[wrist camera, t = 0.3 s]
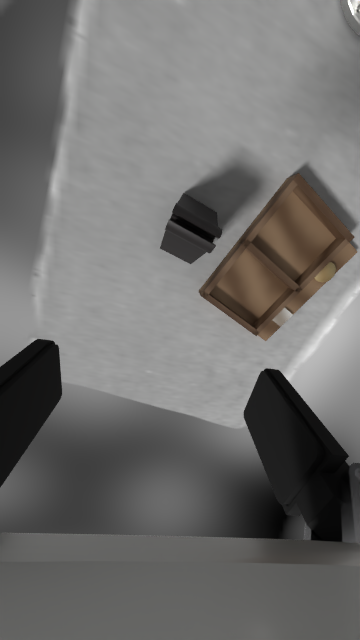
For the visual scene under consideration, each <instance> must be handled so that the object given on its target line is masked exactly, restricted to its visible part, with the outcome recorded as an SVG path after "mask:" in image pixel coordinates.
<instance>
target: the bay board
mask: <svg viewBox="0 0 360 640" xmlns="http://www.w3.org/2000/svg"><path fill="white" fill-rule="evenodd" d="M353 238H354V236H353V235H352V234H351V232H350V231H349V230H348V229H347V228H346V227H345V226H344V224H343V223H342V222H341V221H340V220H339V219H338V218H337V216H336V215H335V214H334V213H333V212H332V211H331V210H330V208H329V207H328V206H327V205H326V204H325V203H324V202H323V200H322V199H321V198H320V197H319V196H318V195H317V193H316V192H315V191H314V190H313V189H312V188H311V187H310V185H309V184H308V183H307V182H306V181H305V180H304V179H303V177H302V176H301V175H300V174H299V173H297V174H295V175H293V176H291V177H289V178H287V179H286V180H285V182H284V183H283V184H282V186H281V187H280V188H279V189H278V191H277V192H276V193H275V194H274V196H273V197H272V198H271V200H270V201H269V202H268V203H267V205H266V206H265V207H264V208H263V210H262V211H261V212H260V214H259V215H258V216H257V217H256V219H255V220H254V221H253V222H252V224H251V225H250V226H249V228H248V229H247V230H246V231H245V233H244V234H243V235H242V236H241V238H240V239H239V240H238V242H237V243H236V244H235V245H234V247H233V248H232V249H231V250H230V252H229V253H228V254H227V256H226V257H225V258H224V259H223V261H222V262H221V263H220V264H219V266H218V267H217V268H216V270H215V271H214V272H213V273H212V275H211V276H210V277H209V278H208V280H207V281H206V282H205V284H204V285H203V286H202V287H201V289H200V290H199V293H200V295H201V296H202V297H203V298H204V299H206V300H207V301H209V302H210V303H211V304H213V305H214V306H216V307H217V308H218V309H220V310H221V311H222V312H224V313H225V314H227V315H228V316H229V317H231V318H232V319H233V320H235V321H236V322H238V323H239V324H240V325H242V326H243V327H245V328H246V329H247V330H249V331H250V332H251V333H253V334H254V335H256V336H257V335H258V336H260V337H261V338H262V339H264V340H265V341H266V340H267V339H268V338H269V337H271V336H272V335H273V334H274V333H275V332H276V331H277V330H278V329H279V328H280V327H281V326H282V325H283V324H284V323H285V322H286V321H287V320H288V319H289V318H290V317H291V316H292V315H293V314H294V313H295V312H296V311H297V310H298V309H299V308H300V307H301V306H302V305H303V304H304V303H305V302H306V301H307V300H309V299H310V298H311V297H312V296H313V295H314V294H315V293H316V292H317V291H318V290H319V289H320V288H321V287H322V286H323V285H324V284H325V283H326V282H327V281H329V280H330V279H331V278H332V277H333V276H334V274H335V273H336V272H337V271H338V270H339V269H340V268H341V267H342V266H343V265H344V264H345V263H347V262H348V261H349V260H350V259H351V258H352V257H353V256H354V255H355V254H356V253H357V251H356V249H355V248H354V247H353V246H352V245H351V244H350V243H349V242H350V241H351V240H352V239H353Z"/></svg>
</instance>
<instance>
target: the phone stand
mask: <svg viewBox="0 0 360 640" xmlns="http://www.w3.org/2000/svg"><path fill="white" fill-rule="evenodd" d="M172 213H173V214H172V216H171V219H169V221H168V223H167V226H166V229H165V230H166V231H165V234H164V237H163V240H162V244H161V247H160V248H161V249H162V250H164V251H166V252H168V253H170V254H172V255H174V256H176V257H178V258H180V259H182V260H184V261H186V262H188V263H190V264H192V263H193V262H194V261H195V260H197V259H198V258H199V257H201V256H202V255H203V254H205V253H206V252H208V253H211V252H212V250H213V249H214V248H215V246H216V245H215V244H213V243H212V242H213V240H214V239H215V237H217V238H218V239H219V238H220V237H221V234H222V229H220V228H219V227H218V222H217V212H215V211H213V210H212V209H210V208H208V207H206V206H205V205H203V204H201V203H200V202H198V201H196V200H195V199H193V198H191V197H190V196H188V195H186V194H185V193H183V195H182V196H181V198H180V200H179V202H178V203H176V205H175V207H174V209H173V211H172Z"/></svg>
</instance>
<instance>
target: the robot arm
mask: <svg viewBox="0 0 360 640" xmlns="http://www.w3.org/2000/svg"><path fill="white" fill-rule="evenodd" d="M341 6H342V9H343V13H344V16H345V18H346V20H347V22H348V24H349V26H350V27H351V28H352V29H353V30H354V31H355V33H356V34H358V35H360V0H341ZM61 396H62V385H61V371H60V357H59V347H58V345H55V343H54V341H51V340H43V339H37V340H35V341H34V342H32V343H31V344H30V345H28V346H27V347H26V348H25V349H23V350H22V351H21V352H19V353H18V354H17V355H15V356H14V357H13V358H12V359H10V360H9V361H8V362H6V363H5V364H4V365H2V366H1V367H0V487H1V486H2V484H3V483H4V481H5V480H6V478H7V477H8V476H9V474H10V472H11V471H12V470H13V468H14V467H15V465H16V464H17V462H18V461H19V459H20V458H21V456H22V455H23V453H24V452H25V450H26V449H27V448H28V446H29V445H30V443H31V442H32V440H33V439H34V437H35V436H36V434H37V433H38V431H39V430H40V428H41V427H42V426H43V424H44V423H45V421H46V420H47V418H48V417H49V415H50V414H51V412H52V411H53V409H54V408H55V406H56V405H57V403H58V402H59V400H60V398H61ZM244 419H245V421H246V424H247V426H248V429H249V431H250V434H251V436H252V439H253V441H254V444H255V446H256V449H257V451H258V454H259V456H260V459H261V461H262V463H263V466H264V469H265V471H266V473H267V476H268V478H269V481H270V483H271V486H272V488H273V491H274V493H275V496H276V498H277V500H278V502H279V503H281V504H282V505H283V508H284V510H285V513H286V515H299V516H300V515H301V514H302V515H303V518H304V520H305V533H304V540H286V539H284V540H283V539H254V538H220V537H181V536H180V537H179V536H139V535H137V536H135V535H93V534H92V535H90V534H36V533H0V640H360V463H352V464H351V465H350V466H349V465H348V464H347V463H346V462H345V460H346V459H347V458H348V457H349V456H348V454H347V453H346V452H345V451H344V449H343V448H342V447H341V446H340V445H339V443H338V442H337V441H336V440H335V438H334V437H333V436H332V435H331V433H330V432H329V431H328V430H327V428H326V427H325V426H324V425H323V423H322V422H321V421H320V420H319V419H318V417H317V416H316V415H315V414H314V412H313V411H312V410H311V409H310V407H309V406H308V405H307V404H306V403H305V401H304V400H303V399H302V398H301V396H300V395H299V394H298V393H297V391H296V390H295V389H294V388H293V387H292V385H291V384H290V383H289V382H288V380H287V379H286V378H285V377H284V375H283V374H282V373H281V372H280V371H279V370H275V369H265V370H264V371H262V372H261V373H260V375H259V377H258V379H257V382H256V384H255V386H254V389H253V391H252V394H251V396H250V398H249V401H248V403H247V405H246V408H245V410H244Z"/></svg>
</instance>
